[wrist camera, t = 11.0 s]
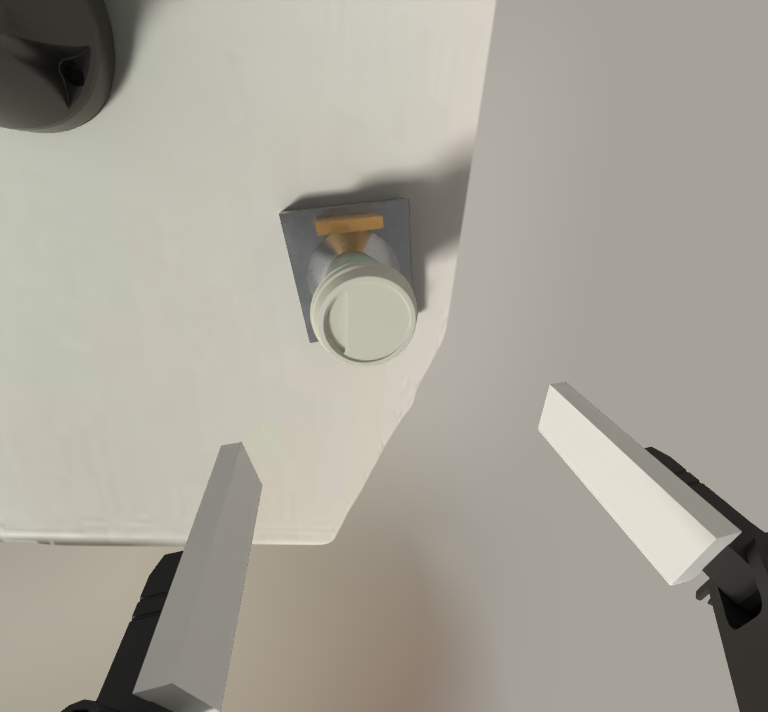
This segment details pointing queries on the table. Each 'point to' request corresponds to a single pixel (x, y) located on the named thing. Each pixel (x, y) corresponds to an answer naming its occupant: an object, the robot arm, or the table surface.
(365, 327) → the coffee cup
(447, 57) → the table surface
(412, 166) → the table surface
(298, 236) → the block
